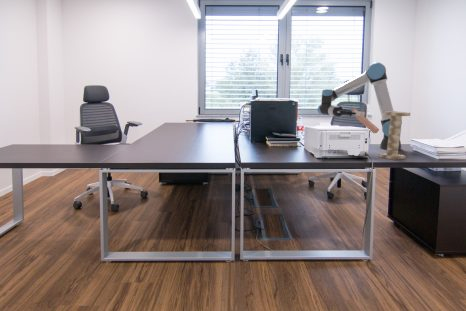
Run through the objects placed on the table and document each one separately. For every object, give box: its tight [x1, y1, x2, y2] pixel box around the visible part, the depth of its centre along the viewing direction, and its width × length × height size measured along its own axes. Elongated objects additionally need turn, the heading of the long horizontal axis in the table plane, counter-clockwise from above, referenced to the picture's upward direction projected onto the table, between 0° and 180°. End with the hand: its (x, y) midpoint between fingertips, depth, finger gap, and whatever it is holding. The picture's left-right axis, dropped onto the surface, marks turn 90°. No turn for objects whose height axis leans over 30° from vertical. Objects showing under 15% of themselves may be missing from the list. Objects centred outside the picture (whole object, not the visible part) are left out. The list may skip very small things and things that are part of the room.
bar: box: [351, 108, 380, 134], centre depth 293 cm, size 24×4×3 cm
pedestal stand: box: [378, 110, 411, 161], centre depth 275 cm, size 12×12×30 cm
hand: (362, 114), depth 294 cm, fingers closed on bar, 4 cm apart
